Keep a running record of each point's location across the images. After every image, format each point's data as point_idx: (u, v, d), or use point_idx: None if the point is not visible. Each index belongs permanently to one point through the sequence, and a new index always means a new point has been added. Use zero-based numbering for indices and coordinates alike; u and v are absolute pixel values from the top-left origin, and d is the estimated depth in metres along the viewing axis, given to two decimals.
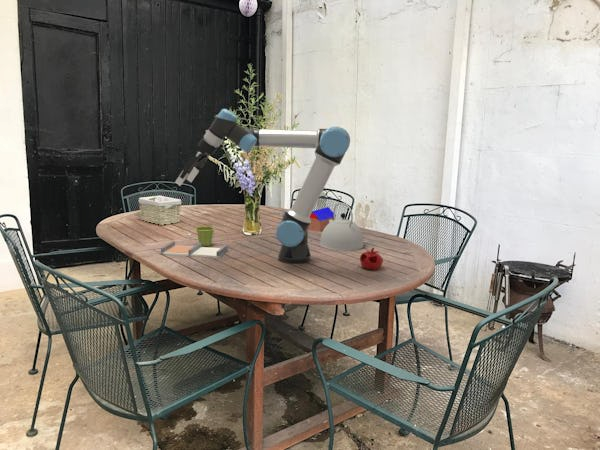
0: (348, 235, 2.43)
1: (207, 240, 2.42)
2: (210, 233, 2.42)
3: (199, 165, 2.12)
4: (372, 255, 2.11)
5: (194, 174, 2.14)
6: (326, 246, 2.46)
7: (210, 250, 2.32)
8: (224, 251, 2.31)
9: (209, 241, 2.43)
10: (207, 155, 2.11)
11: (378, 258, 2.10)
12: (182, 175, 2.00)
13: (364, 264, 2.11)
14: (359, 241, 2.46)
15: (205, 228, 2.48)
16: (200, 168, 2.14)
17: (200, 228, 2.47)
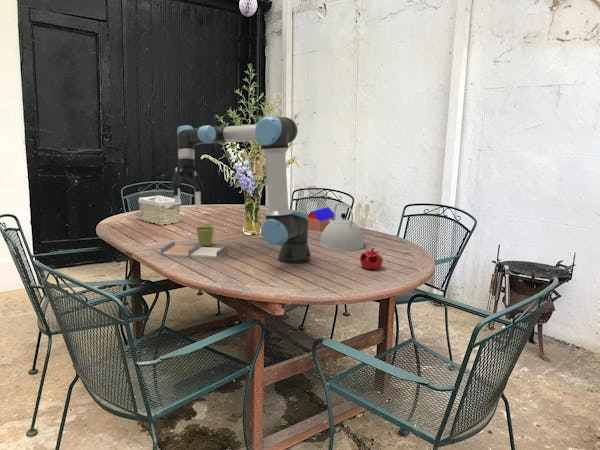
0: (349, 235, 2.43)
1: (207, 240, 2.42)
2: (210, 233, 2.42)
3: (196, 186, 2.29)
4: (372, 255, 2.11)
5: (198, 197, 2.29)
6: (326, 246, 2.46)
7: (210, 250, 2.32)
8: (224, 251, 2.31)
9: (209, 241, 2.43)
10: (196, 174, 2.29)
11: (378, 258, 2.10)
12: (174, 192, 2.17)
13: (364, 264, 2.11)
14: (359, 241, 2.45)
15: (205, 228, 2.48)
16: (199, 189, 2.30)
17: (200, 228, 2.47)
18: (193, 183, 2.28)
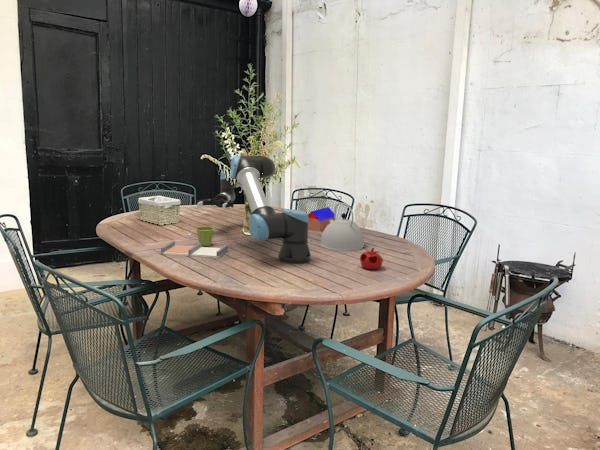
0: (349, 235, 2.42)
1: (207, 240, 2.42)
2: (210, 233, 2.42)
3: (225, 203, 2.59)
4: (372, 255, 2.11)
5: None
6: (327, 246, 2.46)
7: (210, 250, 2.32)
8: (224, 251, 2.31)
9: (209, 241, 2.43)
10: (228, 200, 2.65)
11: (378, 258, 2.10)
12: None
13: (364, 264, 2.11)
14: (359, 242, 2.45)
15: (205, 228, 2.48)
16: (227, 202, 2.57)
17: (200, 228, 2.47)
18: (224, 203, 2.61)
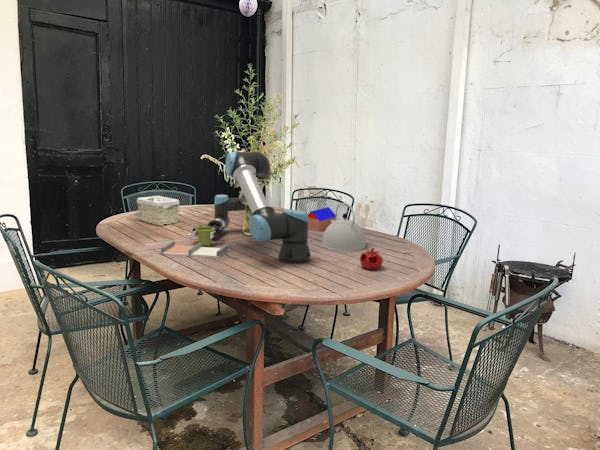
0: (350, 235, 2.42)
1: (207, 240, 2.42)
2: None
3: (215, 231, 2.48)
4: (372, 255, 2.11)
5: None
6: (328, 246, 2.46)
7: (210, 250, 2.32)
8: (224, 251, 2.31)
9: (209, 241, 2.43)
10: (221, 227, 2.54)
11: (378, 258, 2.10)
12: None
13: (364, 264, 2.11)
14: (361, 242, 2.45)
15: (205, 228, 2.48)
16: (216, 230, 2.47)
17: (200, 228, 2.47)
18: (214, 231, 2.50)
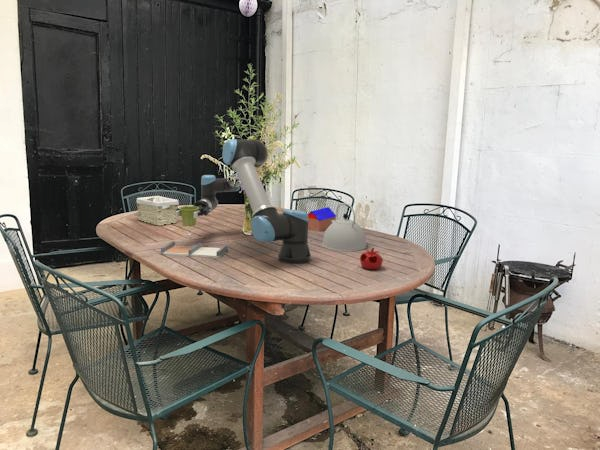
0: (351, 235, 2.42)
1: (191, 220, 2.32)
2: None
3: None
4: (372, 255, 2.11)
5: None
6: (328, 247, 2.45)
7: (210, 250, 2.32)
8: (224, 251, 2.31)
9: (193, 221, 2.33)
10: (206, 208, 2.44)
11: (378, 258, 2.10)
12: None
13: (364, 264, 2.11)
14: (361, 242, 2.44)
15: (189, 207, 2.38)
16: None
17: (184, 208, 2.37)
18: None
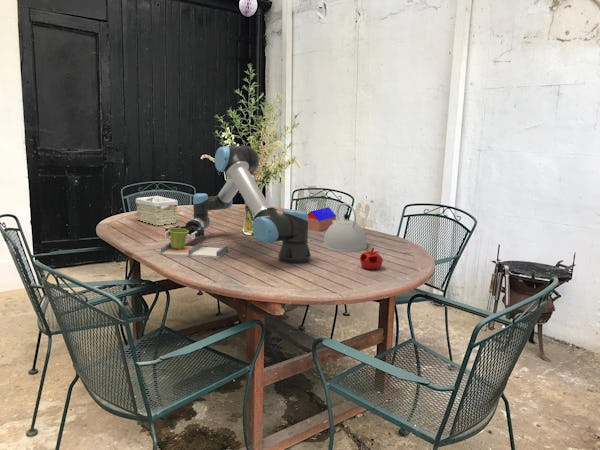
0: (351, 236, 2.41)
1: (180, 243, 2.30)
2: (183, 236, 2.29)
3: None
4: (372, 255, 2.11)
5: None
6: (329, 247, 2.45)
7: (210, 250, 2.32)
8: (224, 251, 2.31)
9: (182, 244, 2.30)
10: (199, 228, 2.40)
11: (378, 258, 2.10)
12: None
13: (364, 264, 2.11)
14: (362, 242, 2.44)
15: (179, 230, 2.35)
16: (198, 230, 2.33)
17: (174, 230, 2.34)
18: (194, 232, 2.37)
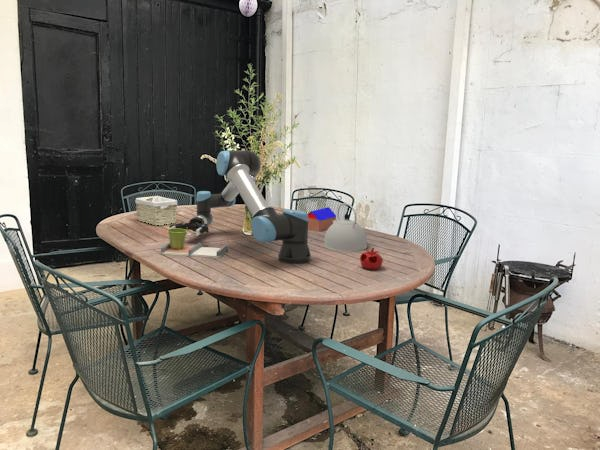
0: (352, 236, 2.41)
1: (179, 243, 2.30)
2: (182, 235, 2.30)
3: (200, 228, 2.42)
4: (372, 255, 2.11)
5: None
6: (329, 247, 2.45)
7: (210, 250, 2.32)
8: (224, 251, 2.31)
9: (180, 244, 2.31)
10: (203, 224, 2.47)
11: (378, 258, 2.10)
12: None
13: (364, 264, 2.11)
14: (362, 242, 2.44)
15: (178, 230, 2.36)
16: (202, 227, 2.40)
17: (173, 230, 2.35)
18: (198, 228, 2.43)
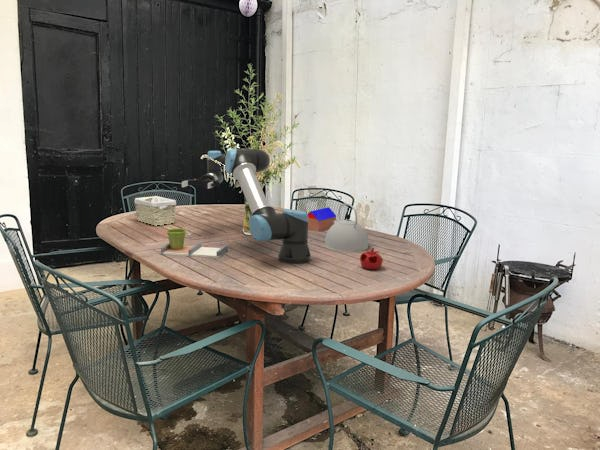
0: (353, 236, 2.40)
1: (178, 243, 2.30)
2: (181, 236, 2.29)
3: None
4: (372, 255, 2.11)
5: None
6: (330, 247, 2.44)
7: (210, 250, 2.32)
8: (224, 251, 2.31)
9: (180, 244, 2.31)
10: (214, 180, 2.56)
11: (378, 258, 2.10)
12: None
13: (364, 264, 2.11)
14: (363, 243, 2.43)
15: (177, 230, 2.36)
16: (213, 181, 2.49)
17: (172, 230, 2.35)
18: None
